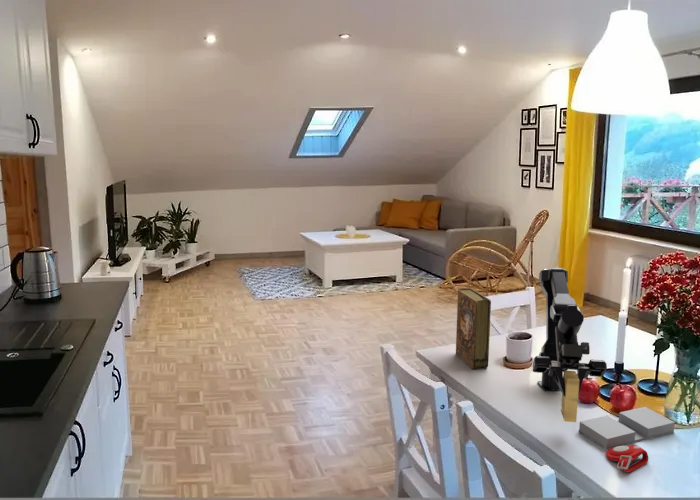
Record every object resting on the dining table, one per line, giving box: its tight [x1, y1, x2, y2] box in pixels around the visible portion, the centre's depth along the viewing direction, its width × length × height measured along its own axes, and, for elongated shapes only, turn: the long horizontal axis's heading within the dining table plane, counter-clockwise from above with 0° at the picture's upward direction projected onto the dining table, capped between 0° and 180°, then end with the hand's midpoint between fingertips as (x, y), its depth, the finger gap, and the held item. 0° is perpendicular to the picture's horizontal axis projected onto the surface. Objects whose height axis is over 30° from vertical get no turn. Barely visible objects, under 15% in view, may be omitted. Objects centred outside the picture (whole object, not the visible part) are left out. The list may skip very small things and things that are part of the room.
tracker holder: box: [605, 444, 649, 473], centre depth 148 cm, size 12×4×10 cm
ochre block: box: [560, 370, 580, 423], centre depth 160 cm, size 6×3×12 cm, turn 169°
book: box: [455, 287, 492, 370], centre depth 211 cm, size 16×6×25 cm, turn 14°
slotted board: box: [578, 406, 676, 450], centre depth 163 cm, size 10×24×3 cm, turn 111°
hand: (570, 396), depth 158 cm, fingers closed on ochre block, 3 cm apart
